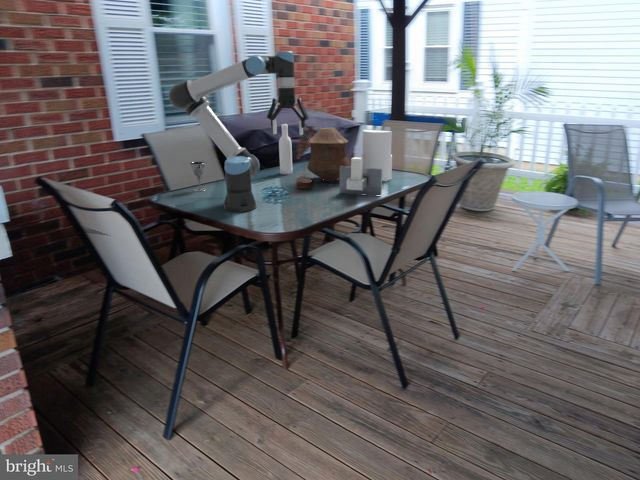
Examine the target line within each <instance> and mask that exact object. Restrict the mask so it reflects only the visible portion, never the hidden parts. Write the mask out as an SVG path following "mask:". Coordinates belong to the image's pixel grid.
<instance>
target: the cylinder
mask: <svg viewBox="0 0 640 480" xmlns="http://www.w3.org/2000/svg"><path fill="white" fill-rule="evenodd" d="M392 143H393V131H391V130H378V129H377V130H375V129H374V130H373V129H363V130H362V157H361V158H363V163H362V167H365V168H382V181H384V180H389V179H391V180H392V175H393V174H392V173H393V172H392V171H393V155H392Z"/></svg>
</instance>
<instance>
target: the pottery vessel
mask: <svg viewBox="0 0 640 480" xmlns="http://www.w3.org/2000/svg"><path fill="white" fill-rule="evenodd" d="M309 140H310V141H309ZM309 140H308V141H309V144H310V146H309V147H310V159H309V161H308V163H307V167H306V168H307V170H308V171H309V172H311V173H312V174H313V175H315V176H317V177H318V178H320V179H321V180H322V179H324V180H337V179H338V180H340V166H348V167H351V160H349V158H348V157H347V143H348V142H349V140H348V139H346V138H345V137H344V136H343V135H341V133H340V132H339V130H337V129H336V128H335V127H321V128H320V129H319V130H318V131H317V132H316V133H315V134H314V135H313V136H312V137H311V138H310V139H309ZM324 180H323V181H324ZM338 180H337V181H338Z"/></svg>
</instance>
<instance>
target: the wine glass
mask: <svg viewBox="0 0 640 480" xmlns="http://www.w3.org/2000/svg"><path fill="white" fill-rule="evenodd" d="M189 167H190V172H191V173H192V175H193V176H194V177H195V178H196V179H197V182H198V188H195V189H193V190H194V191H193V192H195V191H199V193H201V192H205V191H207V188H204V187H203V188H202V187H201V178H202V177H203V176H204V174H205V173H206V162H205V161H201V160H200V161H191V162H189Z"/></svg>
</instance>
